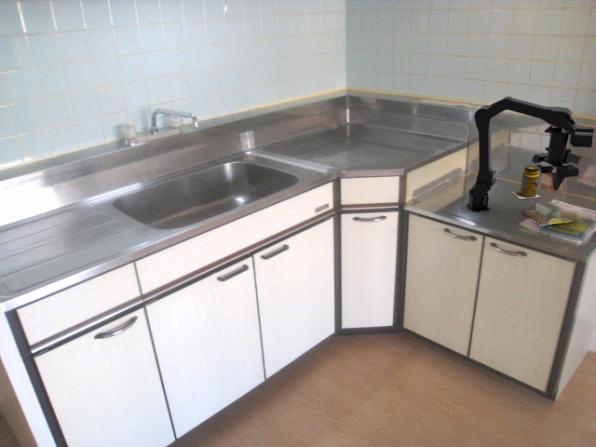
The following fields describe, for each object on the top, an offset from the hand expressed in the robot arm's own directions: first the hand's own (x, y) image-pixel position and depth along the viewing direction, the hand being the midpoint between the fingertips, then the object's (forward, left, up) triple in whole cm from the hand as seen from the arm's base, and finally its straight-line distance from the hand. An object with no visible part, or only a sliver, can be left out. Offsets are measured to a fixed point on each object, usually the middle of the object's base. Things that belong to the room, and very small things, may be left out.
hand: (551, 187), depth 179 cm
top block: (0, 0, -1) cm, 1 cm away
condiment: (+5, +22, -12) cm, 26 cm away
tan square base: (0, 0, -12) cm, 12 cm away
